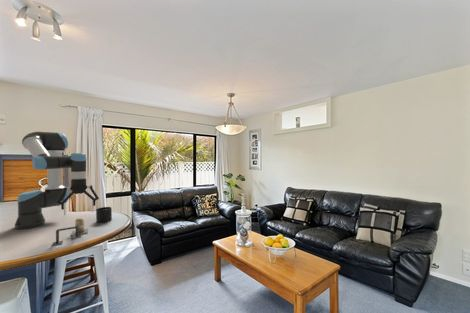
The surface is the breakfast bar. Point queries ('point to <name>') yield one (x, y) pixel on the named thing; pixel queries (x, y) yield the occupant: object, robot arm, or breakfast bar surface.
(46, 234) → the breakfast bar surface
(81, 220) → the beech peg
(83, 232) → the coaster
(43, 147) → the robot arm
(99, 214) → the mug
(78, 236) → the wire
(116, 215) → the breakfast bar surface
